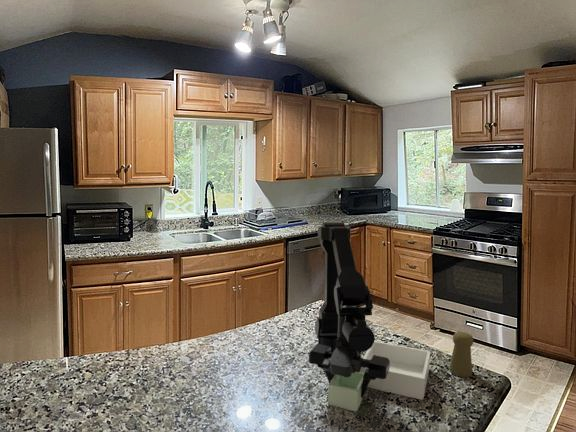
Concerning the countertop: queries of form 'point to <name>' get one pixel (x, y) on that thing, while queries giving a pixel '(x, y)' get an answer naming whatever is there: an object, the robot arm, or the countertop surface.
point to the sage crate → (346, 391)
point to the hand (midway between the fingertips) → (347, 393)
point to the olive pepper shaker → (461, 355)
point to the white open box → (401, 369)
